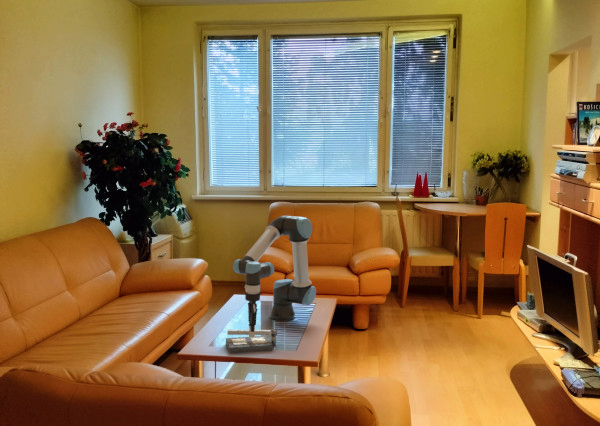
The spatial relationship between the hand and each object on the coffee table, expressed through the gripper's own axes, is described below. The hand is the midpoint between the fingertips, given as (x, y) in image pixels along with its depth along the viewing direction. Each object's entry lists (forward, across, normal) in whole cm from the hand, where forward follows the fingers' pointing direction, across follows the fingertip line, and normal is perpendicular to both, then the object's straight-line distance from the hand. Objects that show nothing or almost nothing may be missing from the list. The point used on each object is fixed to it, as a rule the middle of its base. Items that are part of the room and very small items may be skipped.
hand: (251, 336), depth 277 cm
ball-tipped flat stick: (0, -2, +1) cm, 2 cm away
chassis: (+5, 0, 0) cm, 5 cm away
